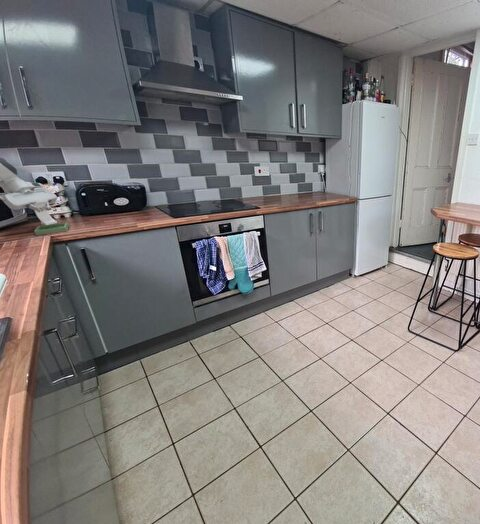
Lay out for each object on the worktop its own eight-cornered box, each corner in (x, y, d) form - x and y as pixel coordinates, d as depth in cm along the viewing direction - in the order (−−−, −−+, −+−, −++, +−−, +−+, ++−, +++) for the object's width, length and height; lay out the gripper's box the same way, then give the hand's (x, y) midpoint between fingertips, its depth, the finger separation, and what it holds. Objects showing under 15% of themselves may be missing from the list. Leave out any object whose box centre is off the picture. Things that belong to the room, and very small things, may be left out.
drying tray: (35, 235, 145) (33, 231, 144) (39, 229, 153) (37, 225, 152) (66, 231, 151) (65, 227, 151) (68, 225, 160) (67, 222, 159)
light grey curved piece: (46, 225, 147) (35, 201, 142) (40, 223, 150) (29, 200, 145) (57, 222, 151) (47, 199, 146) (51, 221, 153) (41, 198, 149)
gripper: (-4, 189, 134) (24, 211, 137) (44, 182, 153) (67, 202, 156) (-8, 198, 137) (20, 220, 140) (40, 191, 155) (63, 210, 158)
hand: (45, 210), depth 148 cm, fingers closed on light grey curved piece, 3 cm apart
